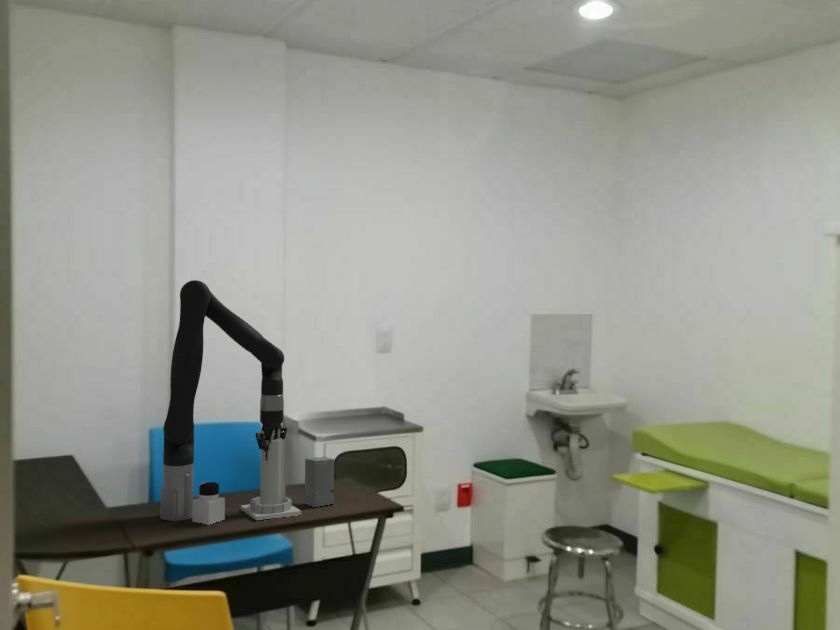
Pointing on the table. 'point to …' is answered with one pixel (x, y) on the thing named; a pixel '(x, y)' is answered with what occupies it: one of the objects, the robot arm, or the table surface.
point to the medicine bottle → (208, 504)
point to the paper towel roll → (273, 473)
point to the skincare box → (319, 481)
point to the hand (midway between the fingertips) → (271, 460)
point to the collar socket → (270, 509)
